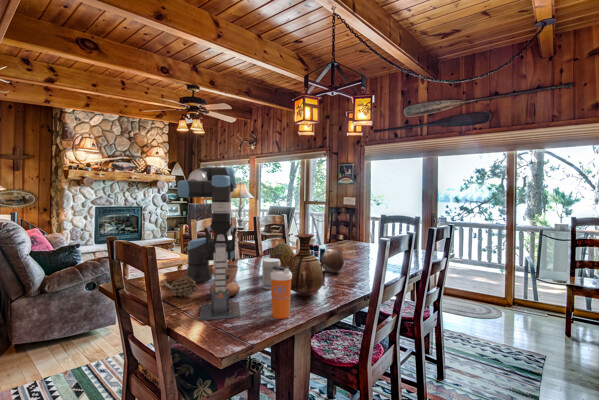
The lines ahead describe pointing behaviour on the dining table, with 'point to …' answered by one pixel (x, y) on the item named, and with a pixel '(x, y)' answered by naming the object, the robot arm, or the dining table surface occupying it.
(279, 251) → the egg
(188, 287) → the pine cone
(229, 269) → the ceramic jug
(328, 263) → the wooden sphere
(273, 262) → the supplement tub
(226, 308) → the stand base
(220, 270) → the column
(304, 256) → the vase
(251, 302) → the dining table surface
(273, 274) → the shaker bottle
